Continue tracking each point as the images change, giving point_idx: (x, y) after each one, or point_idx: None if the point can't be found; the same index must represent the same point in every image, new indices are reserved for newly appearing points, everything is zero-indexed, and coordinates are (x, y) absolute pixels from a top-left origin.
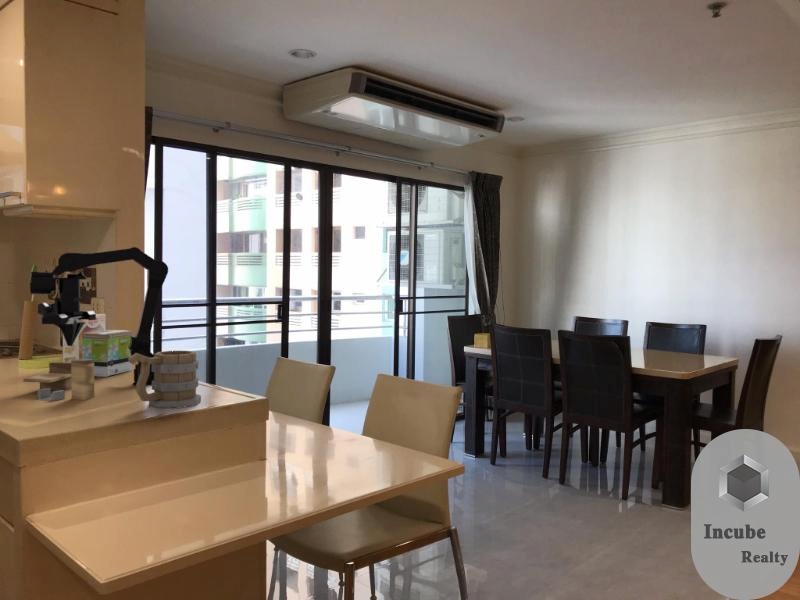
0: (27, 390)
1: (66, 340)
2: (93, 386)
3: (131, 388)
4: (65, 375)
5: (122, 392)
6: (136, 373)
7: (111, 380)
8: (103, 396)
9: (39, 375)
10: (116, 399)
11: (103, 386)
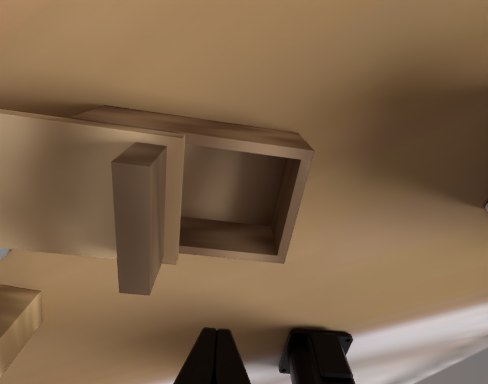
0: (155, 2)
1: (177, 382)
2: (7, 362)
3: (235, 340)
4: (79, 253)
5: (171, 340)
6: (311, 367)
7: (394, 247)
8: (104, 320)
9: (34, 133)
10: (75, 356)
11: (268, 266)
